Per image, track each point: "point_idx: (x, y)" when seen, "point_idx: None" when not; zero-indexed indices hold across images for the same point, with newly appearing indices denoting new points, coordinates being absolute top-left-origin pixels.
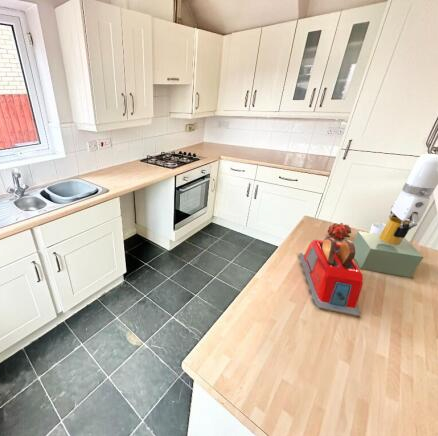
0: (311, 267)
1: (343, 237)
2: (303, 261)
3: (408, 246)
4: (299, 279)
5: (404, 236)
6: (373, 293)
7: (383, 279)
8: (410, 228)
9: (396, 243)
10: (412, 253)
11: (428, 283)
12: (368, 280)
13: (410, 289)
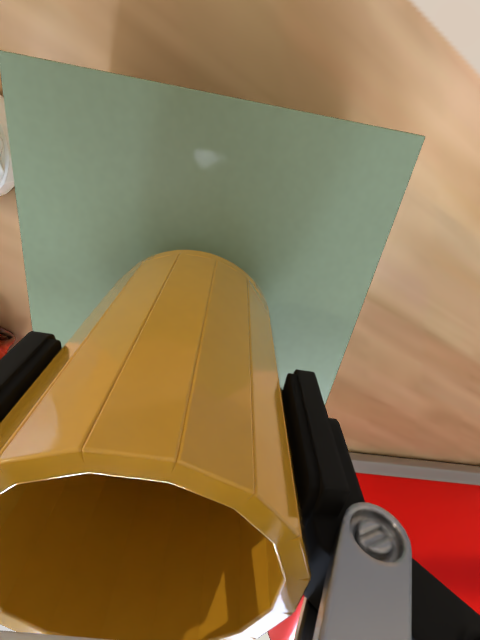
0: None
1: (2, 346)
2: None
3: (226, 155)
4: None
5: (313, 383)
6: (454, 387)
7: (366, 299)
8: (406, 545)
9: (273, 332)
10: (362, 212)
11: (407, 43)
12: (373, 365)
13: (448, 212)
